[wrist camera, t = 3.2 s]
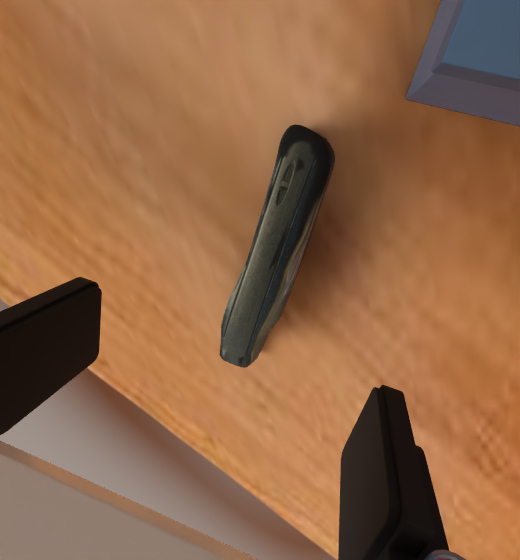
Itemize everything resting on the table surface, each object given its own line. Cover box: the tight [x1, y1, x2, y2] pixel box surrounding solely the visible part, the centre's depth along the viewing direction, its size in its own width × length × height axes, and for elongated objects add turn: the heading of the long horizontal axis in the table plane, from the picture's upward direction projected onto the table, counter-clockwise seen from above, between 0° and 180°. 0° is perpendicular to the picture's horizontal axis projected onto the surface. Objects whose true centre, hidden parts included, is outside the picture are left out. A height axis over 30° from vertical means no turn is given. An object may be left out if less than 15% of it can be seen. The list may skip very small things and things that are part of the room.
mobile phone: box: [220, 125, 335, 367], centre depth 19 cm, size 5×3×15 cm
